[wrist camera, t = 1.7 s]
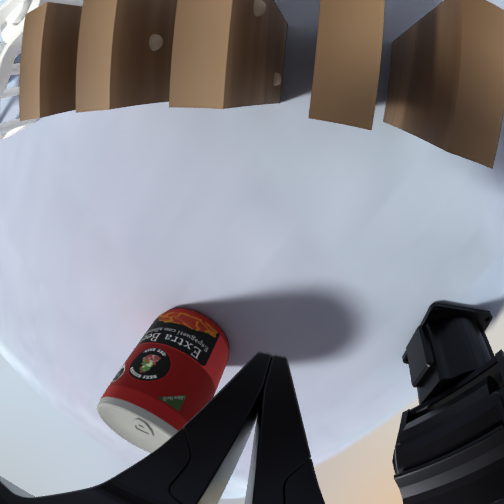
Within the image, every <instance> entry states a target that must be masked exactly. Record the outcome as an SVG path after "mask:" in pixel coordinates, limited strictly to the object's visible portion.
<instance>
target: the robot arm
mask: <svg viewBox="0 0 504 504" xmlns="http://www.w3.org/2000/svg"><path fill="white" fill-rule="evenodd" d="M434 309H437V310H434ZM491 320H492V315H491V313H490V312H489V311H483V310H477V309H471V308H465V307H460V306H454V305H448V304H442V303H433V304H432V305H431V306H430V307H429V309H428V311H427V313H426V315H425V317H424V319H423V321H422V323H421V324H420V326H419V327H418V328H417V329H416V331H415V333H414V335H413V337H412V339H411V340H410V342H409V344H408V346H407V347H406V351H405V353H404V355H403V357H402V359H403V362H404V363H406V364H409V368H410V375H411V382H412V385H413V387H417V391H418V398H419V405H418V406H417V407H415V408H413V409H411V410H410V409H409V410H407V411H405V412H403V413H402V418H401V423H400V428H399V433H398V437H397V441H396V445H395V450H394V455H393V466H394V470H395V475H394V479H395V481H396V483H397V485H398V487H399V489H400V492H401V495H402V498H403V504H504V352H503V351H502V350H500V351H499V352H497V353H496V354H495V356H494V354H493V351H492V349H491V346H490V344H489V341H488V339H487V337H486V334H485V332H484V331H485V330H486V328H487V327H488V325H489V323H490V322H491ZM257 415H258V416H257ZM256 419H257V421H256ZM255 421H256V427H255V435H254V442H253V450H252V457H251V464H250V471H249V478H248V485H247V492H246V498H245V504H325V502H324V499H323V497H322V494H321V491H320V488H319V485H318V482H317V478H316V474H315V471H314V467H313V462H312V459H310V458H311V455H310V450H309V446H308V442H307V438H306V434H305V429H304V425H303V421H302V417H301V413H300V409H299V405H298V401H297V396H296V392H295V388H294V384H293V380H292V376H291V372H290V368H289V364H288V360H287V358H286V357H285V356H280V355H273V356H272V354H270V353H266V352H261V351H259V352H257V353H256V354H255V355H254V356H253V357H252V358H251V359H250V361H249V362H248V363H247V364H246V365H245V366H244V367H243V368H242V369H241V370H240V371H239V372H238V373H237V374H236V375H235V376H234V377H233V378H232V379H231V380H230V381H229V382H228V383H227V384H226V385H225V386H224V387H223V388H222V389H221V390H220V391H219V392H218V393H217V394H216V395H215V396H214V397H213V398H212V399H211V400H210V401H209V402H208V403H207V404H206V405H205V406H204V407H203V408H202V409H201V410H200V411H199V412H198V413H197V414H196V415H195V416H194V417H193V418H192V419H191V420H190V421H189V422H187V423H186V424H185V425H184V426H183V428H184V429H183V428H181V429H180V430H179V431H178V432H177V433H175V434H174V435H173V436H172V437H171V438H170V439H169V440H167V441H166V442H165V443H164V444H163V445H162V446H160V447H159V448H158V449H156V450H155V451H154V452H152V453H151V454H149V455H148V456H147V457H145V458H144V459H142V460H141V461H139V462H137V463H136V464H134V465H133V466H131V467H129V468H128V469H126V470H125V471H123V472H121V473H120V474H118V475H116V476H115V477H113V478H111V479H110V480H108V481H106V482H104V483H102V484H99V485H97V486H94V487H90V488H86V489H82V490H77V491H72V492H66V493H61V494H55V495H49V496H42V497H34V496H33V495H31V494H29V493H27V492H26V491H24V490H22V489H20V488H19V487H17V486H15V485H14V484H12V483H11V482H9V481H7V480H6V479H4V478H2V477H1V476H0V504H217V503H218V501H219V500H220V498H221V496H222V494H223V492H224V489H225V487H226V485H227V483H228V481H229V479H230V477H231V475H232V473H233V471H234V469H235V467H236V464H237V462H238V460H239V458H240V456H241V454H242V451H243V449H244V447H245V445H246V442H247V440H248V438H249V436H250V433H251V431H252V429H253V427H254V424H255Z"/></svg>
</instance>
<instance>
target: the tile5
mask: <svg viewBox="0 0 504 504" xmlns="http://www.w3.org/2000/svg"><path fill="white" fill-rule="evenodd" d="M81 13H82V6H76V5H69V4H61V3H52V2H47V3H45V4H43V5H41V6H39V7H37V8H36V9H34V10H32V11H30V12H29V13H27V14H26V15H25V21H24V28H23V37H22V46H21V59H20V80H19V108H20V121H25V120H31V119H36V118H41V117H45V116H49V115H54V114H58V113H62V112H67V111H72V110H76V67H77V51H78V39H79V29H80V21H81Z"/></svg>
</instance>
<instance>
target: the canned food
mask: <svg viewBox="0 0 504 504" xmlns="http://www.w3.org/2000/svg"><path fill="white" fill-rule="evenodd" d="M228 357H229V345H228V341H227V338H226V336H225V334H224V333H223V331H222V330H221V329H220V328H219V326H218V325H217V324H215V323H214V322H213V321H212V320H211V319H209V318H208V317H206V316H204V315H202V314H200V313H198V312H196V311H192V310H189V309H182V308H177V309H171V310H168V311H166V312H165V313H163V314H161V315H160V316H158V318H157V319H156V320H155V321H154V322H153V324H152V325H151V326H150V328H149V329H148V331H147V332H146V333H145V335H144V336H143V338H142V339H141V340H140V342H139V343H138V345H137V346H136V348H135V349H134V350H133V352H132V353H131V355H130V356H129V357H128V359H127V360H126V362H125V363H124V365H123V366H122V368H121V369H120V370H119V372H118V373H117V375H116V376H115V378H114V379H113V381H112V382H111V384H110V385H109V386H108V388H107V390H106V391H105V393H104V394H103V396H102V397H101V399H100V402H99V404H98V405H97V411H98V413H99V415H100V417H101V418H102V419H103V421H104V422H105V423H106V424H107V425H108V426H109V427H110V428H111V429H112V430H113V431H114V432H116V433H117V434H118V435H120V436H121V437H122V438H124V439H125V440H127V441H128V442H130V443H132V444H133V445H135V446H137V447H139V448H141V449H143V450H145V451H147V452H150V453H152V452H154V451H155V450H156V449H158V448H159V447H160V446H162V445H163V444H164V443H165V442H166V441H167V440H169V439H170V438H171V437H172V436H173V435H174V434H175V433H177V432H178V431H179V430H180V429H181V428H183V426H184V425H185V424H186V423H187V422H189V421H190V420H191V419H192V418H193V417H194V416H195V415H196V414H197V413H198V412H199V411H200V410H201V409H202V408H203V407H204V406H205V405H206V404H207V403H208V402H209V401H210V400H211V399H212V398H213V397H214V394H215V392H216V389H217V387H218V384H219V382H220V379H221V377H222V374H223V372H224V369H225V367H226V364H227V361H228ZM183 429H184V428H183Z"/></svg>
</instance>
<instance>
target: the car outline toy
mask: <svg viewBox="0 0 504 504" xmlns="http://www.w3.org/2000/svg"><path fill="white" fill-rule="evenodd" d="M47 2H52V3H61V4H69V5H76V6H83V0H7V1H6V2H5V3H4V4H3V5H2V6H1V7H0V27H1V36H2V38H3V40H4V42H1V41H0V100H1V99H3V98H7V97H12V96H16V95H19V86H18V87H13V88H8V89H6V86H7V84H8V81H9V78H10V75H16V74H20V63H16V64H14V61H15V58H16V57H17V56H18V55H19V54H20V53H21V46H22V37H23V28H24V21H25V15H26V14H27V13H29V12H30V11H32V10H34V9H36V8H37V7H39V6H41V5H43V4H45V3H47ZM38 119H39V118H36V119H31V120H25V121H20V118H18V119H14V120H11V121H8V122H4V123H1V124H0V140H2V139H5V138H8V137H10V136H12V135H14V134H17V133H18V132H20V131H22V130H24V129H25V128H27V127H29V126H30V125H32V124H33V123H35V122H36V121H37V120H38ZM11 129H12V130H11Z"/></svg>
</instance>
